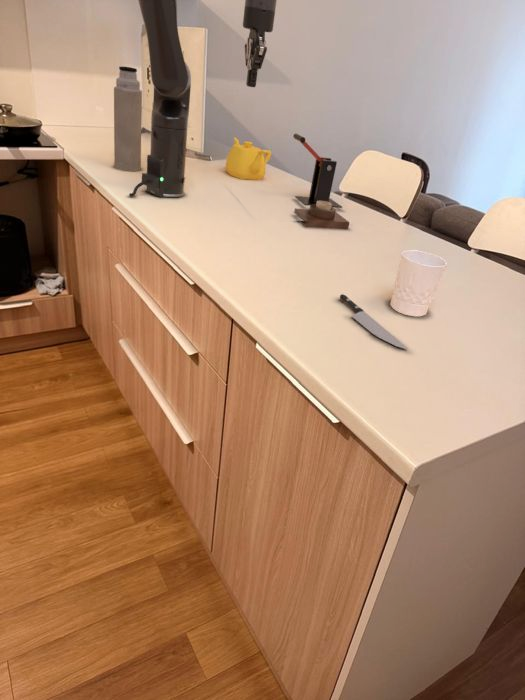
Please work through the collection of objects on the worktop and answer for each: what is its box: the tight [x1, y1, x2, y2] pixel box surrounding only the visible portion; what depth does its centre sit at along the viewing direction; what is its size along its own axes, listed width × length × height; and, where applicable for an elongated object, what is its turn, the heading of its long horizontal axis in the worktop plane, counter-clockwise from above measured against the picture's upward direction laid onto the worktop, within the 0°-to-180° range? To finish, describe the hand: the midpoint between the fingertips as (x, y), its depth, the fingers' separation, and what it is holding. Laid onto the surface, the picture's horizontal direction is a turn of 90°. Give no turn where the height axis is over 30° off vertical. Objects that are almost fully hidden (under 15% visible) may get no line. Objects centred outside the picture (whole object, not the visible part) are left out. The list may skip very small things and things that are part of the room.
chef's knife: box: [339, 293, 409, 350], centre depth 86 cm, size 19×1×3 cm
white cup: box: [389, 249, 448, 317], centre depth 92 cm, size 8×8×10 cm
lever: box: [293, 133, 326, 166], centre depth 144 cm, size 14×6×2 cm
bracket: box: [294, 156, 343, 209], centre depth 149 cm, size 12×9×13 cm
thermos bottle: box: [113, 66, 143, 172], centre depth 152 cm, size 8×8×28 cm
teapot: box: [225, 137, 272, 181], centre depth 172 cm, size 22×16×11 cm
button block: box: [293, 204, 350, 230], centre depth 135 cm, size 12×10×4 cm
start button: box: [316, 201, 332, 210], centre depth 134 cm, size 4×4×2 cm
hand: (250, 86), depth 132 cm, fingers closed
